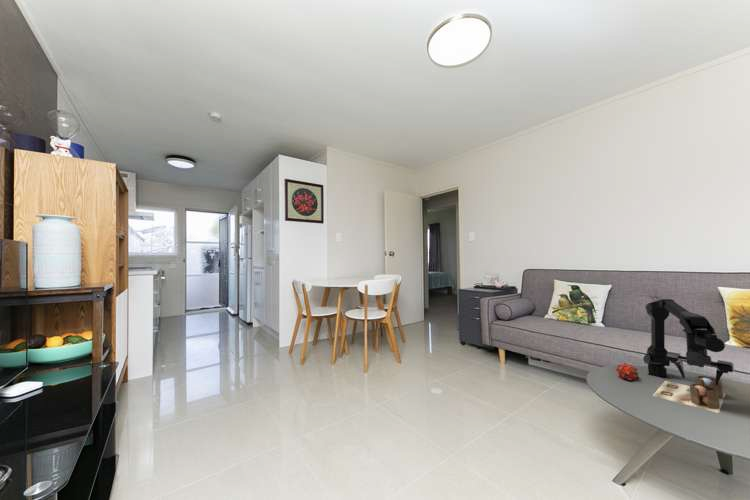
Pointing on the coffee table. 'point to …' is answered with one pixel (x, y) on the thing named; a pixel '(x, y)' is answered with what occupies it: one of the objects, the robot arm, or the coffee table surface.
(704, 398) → the terracotta ball in tube
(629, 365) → the dragon fruit
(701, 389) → the terracotta ball
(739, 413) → the coffee table surface
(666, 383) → the cream wooden tray
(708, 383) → the slate-blue ball
